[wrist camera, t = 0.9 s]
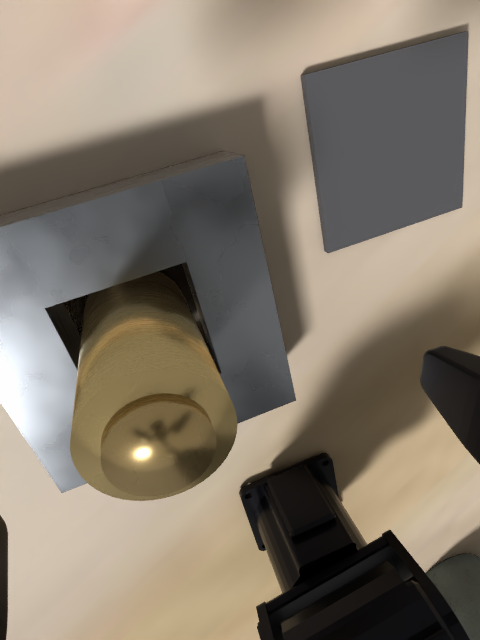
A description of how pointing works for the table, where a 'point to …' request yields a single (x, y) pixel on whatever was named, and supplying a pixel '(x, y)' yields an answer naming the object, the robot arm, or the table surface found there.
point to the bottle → (461, 589)
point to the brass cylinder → (147, 394)
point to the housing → (127, 264)
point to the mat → (388, 139)
